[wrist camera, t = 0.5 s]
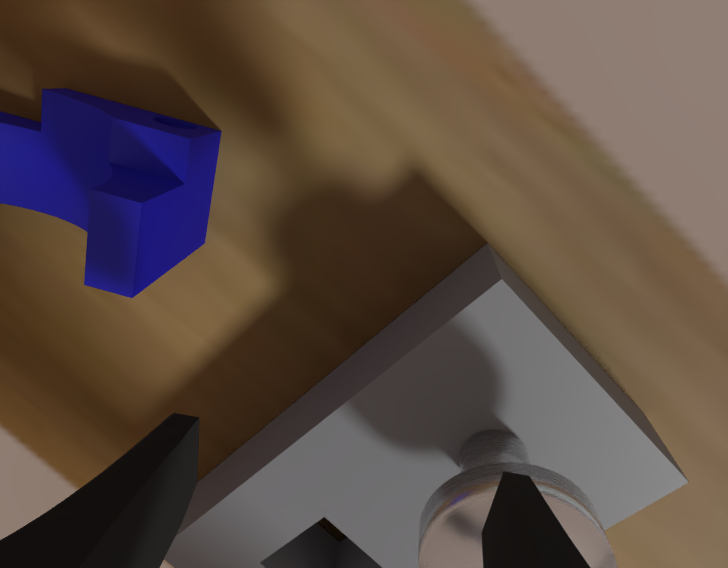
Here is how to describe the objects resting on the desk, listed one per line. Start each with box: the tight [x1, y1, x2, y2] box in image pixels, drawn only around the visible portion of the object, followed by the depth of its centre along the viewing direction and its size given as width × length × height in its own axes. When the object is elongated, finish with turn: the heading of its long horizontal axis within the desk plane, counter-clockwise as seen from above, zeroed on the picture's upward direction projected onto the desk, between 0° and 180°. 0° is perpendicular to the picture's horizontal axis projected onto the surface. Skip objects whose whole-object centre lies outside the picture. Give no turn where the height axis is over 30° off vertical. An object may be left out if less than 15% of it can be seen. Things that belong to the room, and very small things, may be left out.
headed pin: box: [418, 429, 617, 568], centre depth 17 cm, size 5×5×5 cm
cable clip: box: [0, 88, 221, 298], centre depth 18 cm, size 12×4×6 cm, turn 76°
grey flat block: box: [164, 243, 689, 568], centre depth 23 cm, size 18×10×4 cm, turn 134°
